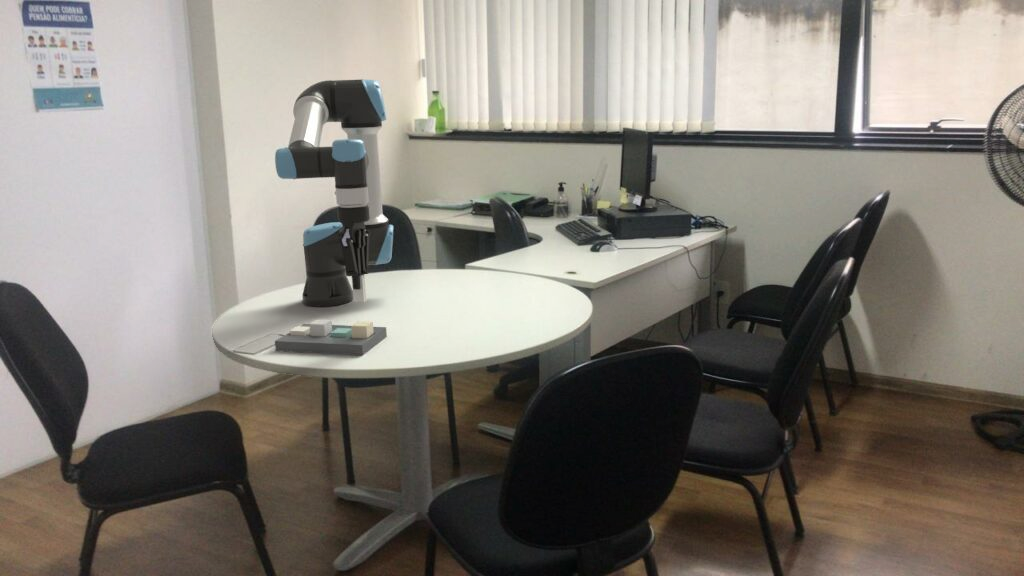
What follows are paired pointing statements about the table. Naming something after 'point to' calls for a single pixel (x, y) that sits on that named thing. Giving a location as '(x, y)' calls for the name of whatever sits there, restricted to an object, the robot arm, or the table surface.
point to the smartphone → (259, 344)
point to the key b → (320, 328)
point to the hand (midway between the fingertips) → (360, 301)
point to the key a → (300, 331)
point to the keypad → (330, 342)
